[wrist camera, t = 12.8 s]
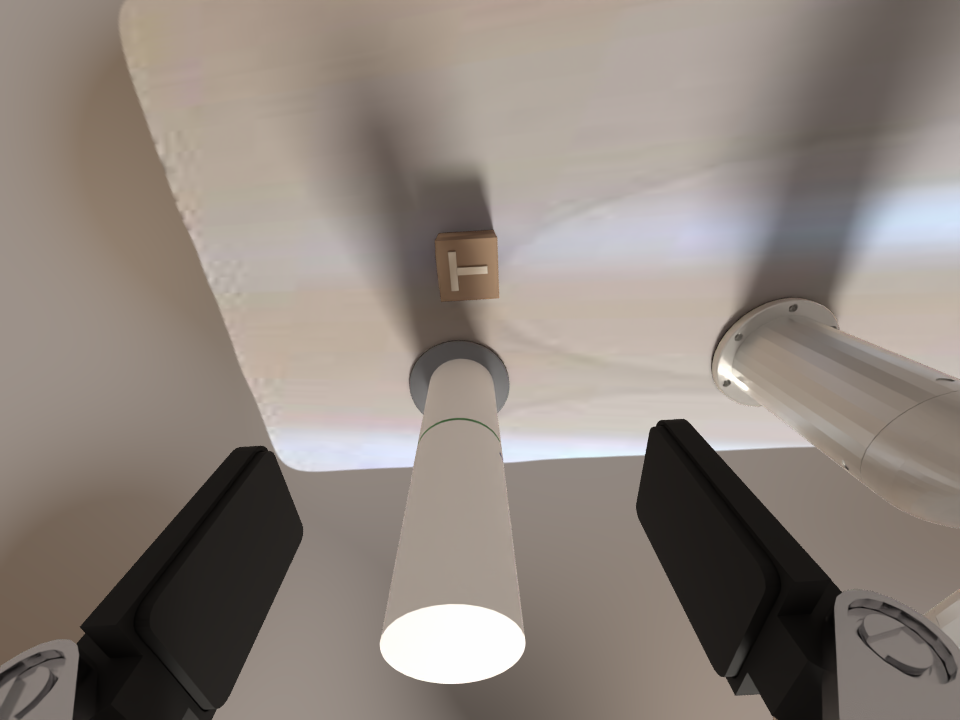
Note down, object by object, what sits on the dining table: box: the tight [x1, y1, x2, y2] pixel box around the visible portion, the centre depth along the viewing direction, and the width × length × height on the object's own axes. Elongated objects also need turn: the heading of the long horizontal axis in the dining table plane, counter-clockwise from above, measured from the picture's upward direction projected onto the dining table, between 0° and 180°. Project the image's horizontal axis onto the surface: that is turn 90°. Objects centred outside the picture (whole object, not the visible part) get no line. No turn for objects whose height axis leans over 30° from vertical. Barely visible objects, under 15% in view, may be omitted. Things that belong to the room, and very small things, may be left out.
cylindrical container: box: [380, 359, 525, 684], centre depth 29 cm, size 7×7×25 cm
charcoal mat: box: [410, 341, 509, 414], centre depth 41 cm, size 11×11×1 cm
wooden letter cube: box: [435, 230, 499, 302], centre depth 32 cm, size 5×5×5 cm
